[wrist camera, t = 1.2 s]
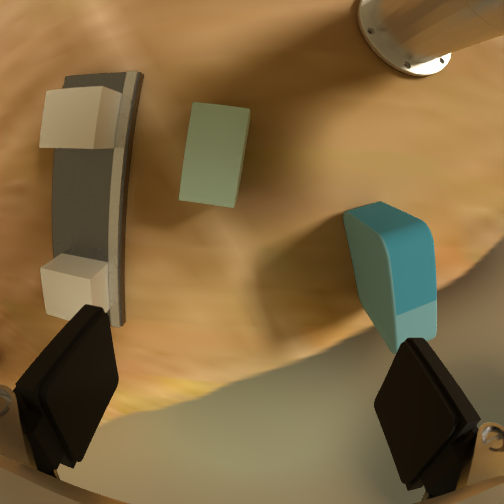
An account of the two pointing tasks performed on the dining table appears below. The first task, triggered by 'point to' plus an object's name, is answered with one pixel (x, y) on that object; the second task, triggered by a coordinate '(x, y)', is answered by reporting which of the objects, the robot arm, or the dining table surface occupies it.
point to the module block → (214, 154)
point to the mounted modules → (83, 137)
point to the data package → (394, 271)
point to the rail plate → (97, 190)
